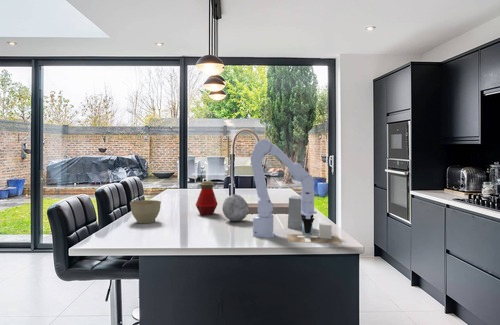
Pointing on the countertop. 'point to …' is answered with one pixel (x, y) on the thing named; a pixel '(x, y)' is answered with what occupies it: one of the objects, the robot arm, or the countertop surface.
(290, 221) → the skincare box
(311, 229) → the blue cylinder
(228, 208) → the decorative orb
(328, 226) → the grey block
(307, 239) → the letter T
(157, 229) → the countertop surface
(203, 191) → the bottle
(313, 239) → the board
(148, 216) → the planter bowl
